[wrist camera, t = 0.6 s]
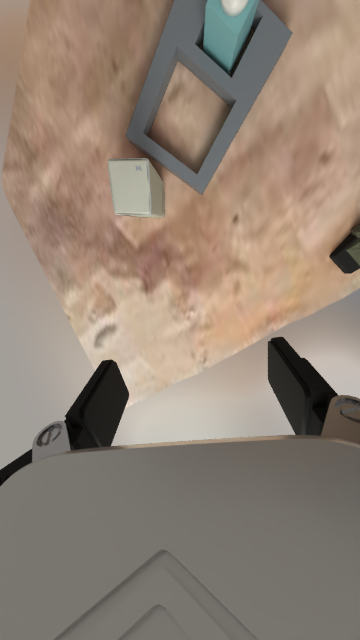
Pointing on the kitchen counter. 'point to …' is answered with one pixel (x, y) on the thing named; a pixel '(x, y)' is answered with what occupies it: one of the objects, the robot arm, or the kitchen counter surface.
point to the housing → (206, 81)
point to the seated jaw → (227, 30)
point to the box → (136, 188)
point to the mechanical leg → (348, 252)
